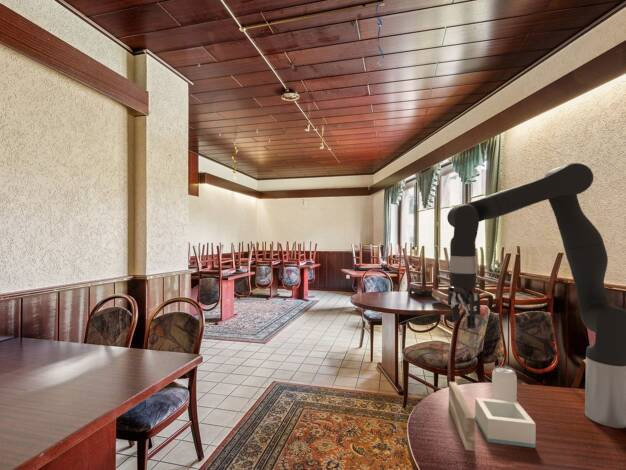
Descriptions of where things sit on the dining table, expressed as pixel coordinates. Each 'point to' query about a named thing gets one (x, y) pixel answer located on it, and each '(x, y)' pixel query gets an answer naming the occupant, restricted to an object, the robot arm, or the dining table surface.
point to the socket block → (505, 422)
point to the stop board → (462, 416)
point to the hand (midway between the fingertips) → (463, 324)
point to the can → (504, 384)
